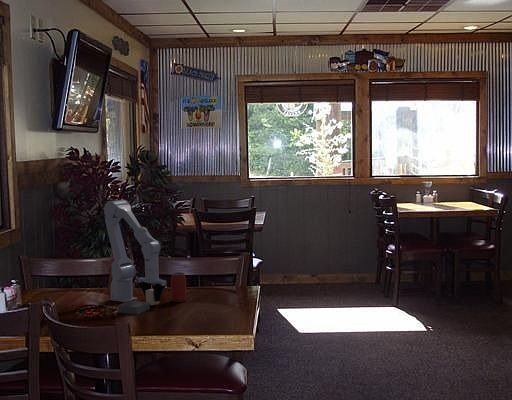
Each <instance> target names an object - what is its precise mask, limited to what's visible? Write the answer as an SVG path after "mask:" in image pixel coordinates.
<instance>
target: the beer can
mask: <svg viewBox="0 0 512 400" xmlns="http://www.w3.org/2000/svg"><path fill="white" fill-rule="evenodd" d="M186 300H187V277H186V275H185V273H184V272H173V273H171V276H170V301H171V302H173V303H184V302H186Z"/></svg>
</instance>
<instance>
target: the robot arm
mask: <svg viewBox="0 0 512 400" xmlns="http://www.w3.org/2000/svg"><path fill="white" fill-rule="evenodd" d="M103 212H104V215H105V216H104V217H105V219H104V221H105V225H106V230H107V234H108V237H109V243H110V245H111V251H112V254H113V255H112V256H113V259H114V260H113V261H112V263H111V265H110V267H111V277H112V279H113V280H112V281H111V283H110V298H109V300H110V301H113V302H114V301H115V302H122V303H126V302H129V301H136V300H137V299H138V298H137V297H135V296H134V297H133V295H134V294H133V291H134V290H133V279H134V277H135V275H136V272H137V270H136V267H135V265H134V263H133V260H132V259H130V258H129V257H128V256H127V251H126V247H125V244H124V239H123V235H122V231H121V227H120V221H121V219H124V221H125V222H126V223H127V224H128V225H129V226H130V228H131V229H132V230H133V236H134V237H135V239H136V240H137V242H138V243H139V245H140V246H141V253H142V254H143V258H144V277H138V278H137V281H138V283H140V284H139V287H140V289H141V290H142V292H143V296H144V299H145V300H146V290H149V289H153V290H154V295H155V302H157V301H159V302H160V300H161V296H162V293H163V290H164V289H165V286H167V280H165V279H162V278H160V274H159V273H160V272H159V271H160V269H159V253H160V252H161V249H162V246H161V243H160V241H159V240H157V239H155V238H153V237H152V234H150V232H149V231H148V228H146V227H145V226H141V225H140V223H139V221H138V219H137V218H136V216H135V215H134V213H133V211H132V206H131V204H130V203H129V202H128V200H126V199H119V200H108V201H106V202H105V205H104V206H103Z"/></svg>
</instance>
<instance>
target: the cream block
mask: <svg viewBox="0 0 512 400" xmlns="http://www.w3.org/2000/svg"><path fill="white" fill-rule="evenodd" d="M145 302H149V303H150V306H155V305H159V304H160V301H157V302H155V295H154V290H153V288H151V289H149V290H146V299H145Z"/></svg>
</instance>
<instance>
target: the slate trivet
mask: <svg viewBox="0 0 512 400" xmlns="http://www.w3.org/2000/svg"><path fill="white" fill-rule="evenodd" d="M150 306H151V305H150V303H149V302H146V301H138V300H137V301H136V300H131V301H127V302H123V303H121V304H118V305H117V309H118V313H119V314H129V315H139V314H142V313H144V312H147V311H150V308H151V307H150Z"/></svg>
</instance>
